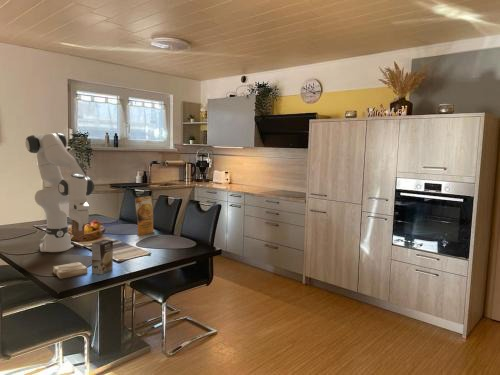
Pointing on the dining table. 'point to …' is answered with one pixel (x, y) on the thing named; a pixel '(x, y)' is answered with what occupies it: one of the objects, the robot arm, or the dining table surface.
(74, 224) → the walnut block
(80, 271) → the base slab
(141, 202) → the pancake mix bag
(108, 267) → the coffee box
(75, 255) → the dining table surface
